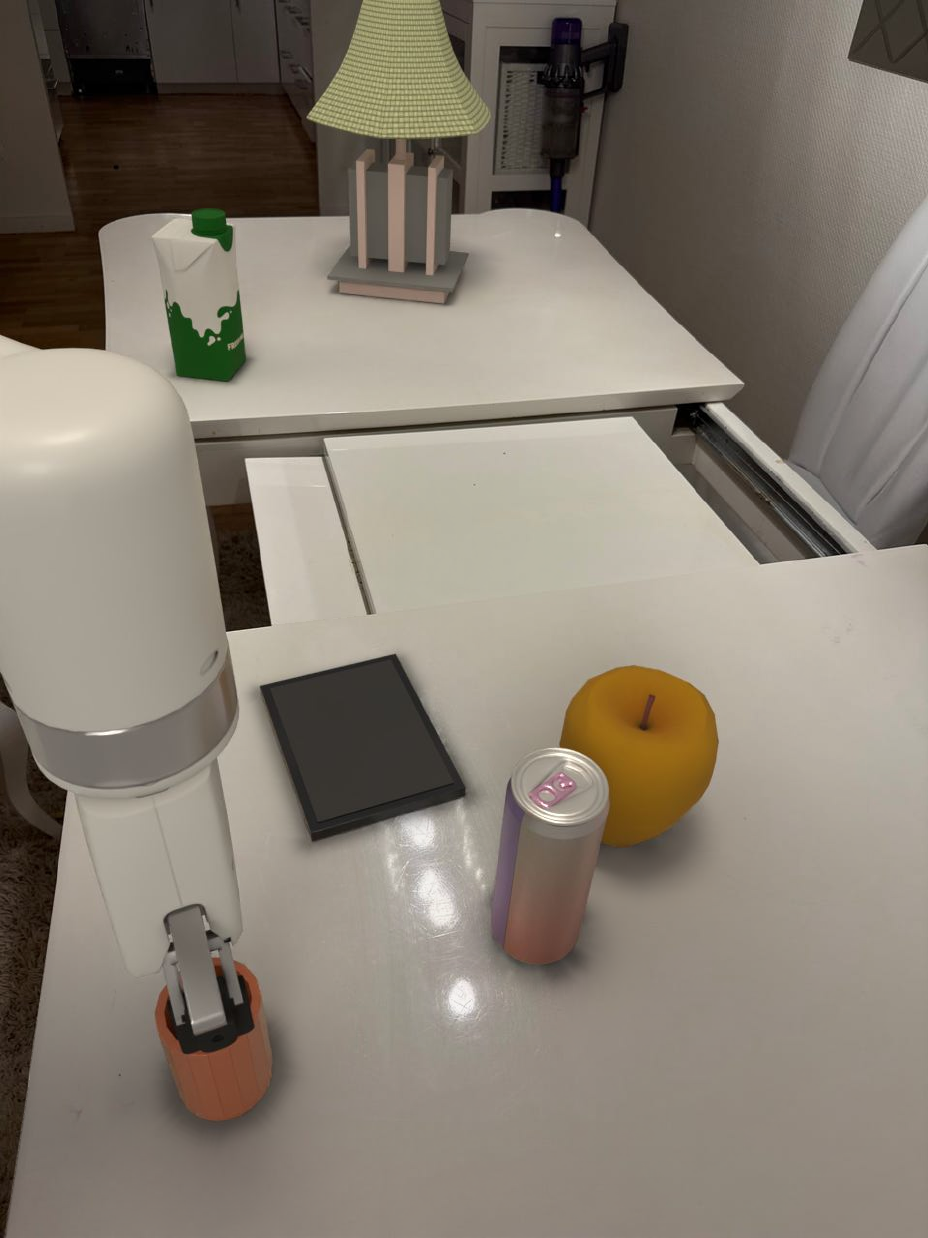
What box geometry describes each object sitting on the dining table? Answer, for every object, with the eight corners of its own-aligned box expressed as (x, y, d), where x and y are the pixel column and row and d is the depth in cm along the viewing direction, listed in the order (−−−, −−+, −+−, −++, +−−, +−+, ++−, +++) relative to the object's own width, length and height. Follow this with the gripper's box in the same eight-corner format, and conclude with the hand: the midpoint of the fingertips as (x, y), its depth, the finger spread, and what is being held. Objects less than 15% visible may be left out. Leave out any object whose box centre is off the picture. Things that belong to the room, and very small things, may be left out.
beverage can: (471, 923, 62) (485, 777, 53) (534, 875, 65) (558, 729, 56) (533, 988, 59) (561, 845, 49) (596, 933, 62) (634, 789, 52)
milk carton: (233, 385, 120) (214, 226, 108) (166, 377, 121) (139, 218, 108) (254, 357, 127) (239, 204, 114) (191, 350, 128) (169, 197, 115)
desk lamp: (489, 260, 161) (506, -18, 135) (465, 323, 140) (481, 7, 114) (344, 246, 163) (335, -30, 138) (299, 306, 142) (278, -9, 116)
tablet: (311, 841, 67) (310, 832, 66) (260, 694, 78) (259, 684, 77) (465, 796, 71) (466, 786, 70) (395, 661, 82) (395, 652, 81)
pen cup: (186, 1136, 51) (163, 1072, 46) (171, 1046, 55) (148, 976, 50) (283, 1099, 53) (271, 1033, 48) (261, 1014, 57) (248, 944, 52)
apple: (661, 907, 64) (701, 786, 56) (521, 839, 68) (540, 716, 59) (710, 799, 71) (752, 678, 63) (582, 744, 75) (605, 623, 67)
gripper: (11, 580, 39) (99, 832, 50) (35, 922, 27) (144, 1156, 38) (192, 545, 41) (238, 793, 52) (289, 845, 29) (323, 1086, 40)
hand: (199, 945), depth 45 cm, fingers open, 9 cm apart
